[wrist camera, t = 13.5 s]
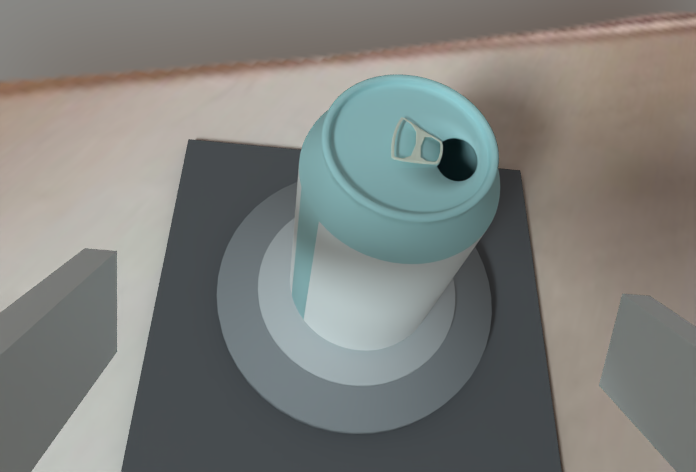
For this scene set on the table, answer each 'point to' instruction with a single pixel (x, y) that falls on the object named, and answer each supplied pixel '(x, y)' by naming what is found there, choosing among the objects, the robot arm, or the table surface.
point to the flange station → (330, 347)
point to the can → (388, 207)
